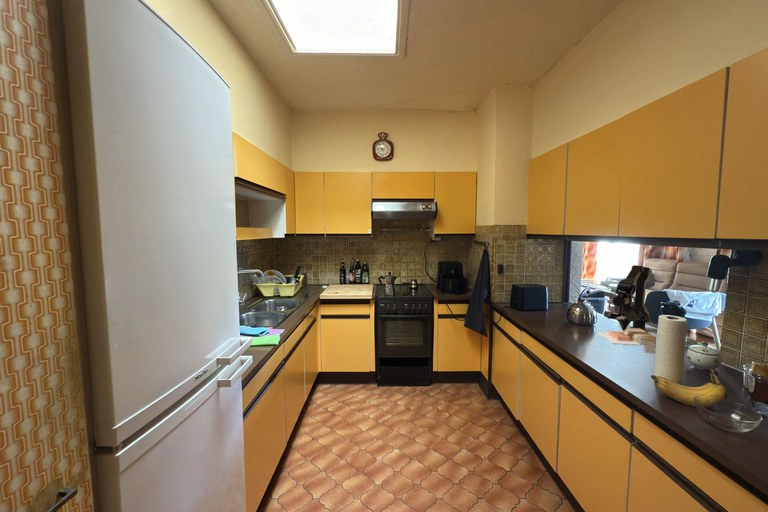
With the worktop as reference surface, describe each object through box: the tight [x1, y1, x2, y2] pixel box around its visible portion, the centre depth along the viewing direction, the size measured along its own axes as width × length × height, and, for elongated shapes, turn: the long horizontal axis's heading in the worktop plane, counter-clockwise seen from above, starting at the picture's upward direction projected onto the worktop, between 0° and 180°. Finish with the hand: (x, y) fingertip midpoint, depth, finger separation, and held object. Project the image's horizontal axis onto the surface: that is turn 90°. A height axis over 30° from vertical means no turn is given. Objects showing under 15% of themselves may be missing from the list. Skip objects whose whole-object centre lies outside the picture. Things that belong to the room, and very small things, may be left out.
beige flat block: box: [638, 336, 657, 354], centre depth 152 cm, size 7×2×8 cm, turn 67°
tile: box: [608, 330, 630, 341], centre depth 171 cm, size 9×6×2 cm, turn 169°
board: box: [622, 327, 657, 346], centre depth 169 cm, size 16×9×4 cm, turn 169°
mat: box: [596, 331, 641, 346], centre depth 171 cm, size 18×13×1 cm
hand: (623, 330), depth 170 cm, fingers closed
